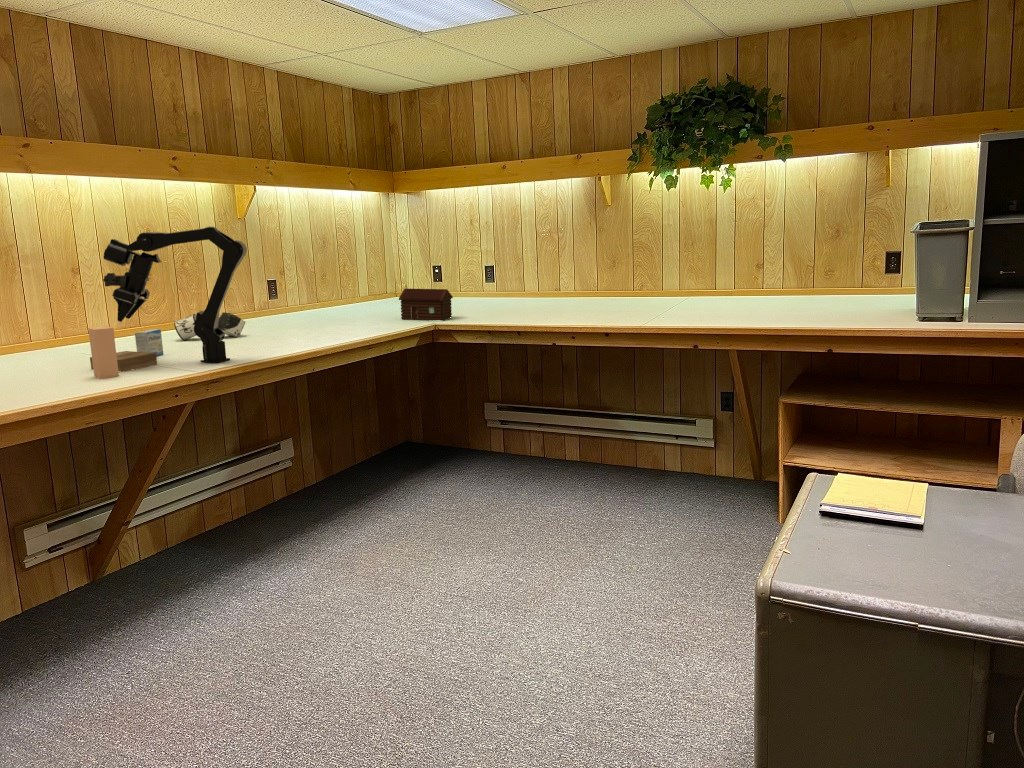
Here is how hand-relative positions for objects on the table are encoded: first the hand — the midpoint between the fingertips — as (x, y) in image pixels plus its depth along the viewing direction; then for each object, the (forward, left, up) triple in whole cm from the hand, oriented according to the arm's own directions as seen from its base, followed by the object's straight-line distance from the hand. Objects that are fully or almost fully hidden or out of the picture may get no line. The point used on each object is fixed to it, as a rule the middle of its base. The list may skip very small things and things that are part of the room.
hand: (123, 319), depth 242 cm
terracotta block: (-9, +16, -14) cm, 23 cm away
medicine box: (+7, -14, -14) cm, 22 cm away
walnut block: (-1, +3, -15) cm, 15 cm away
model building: (-31, -131, -15) cm, 135 cm away
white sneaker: (+19, -53, -14) cm, 58 cm away
